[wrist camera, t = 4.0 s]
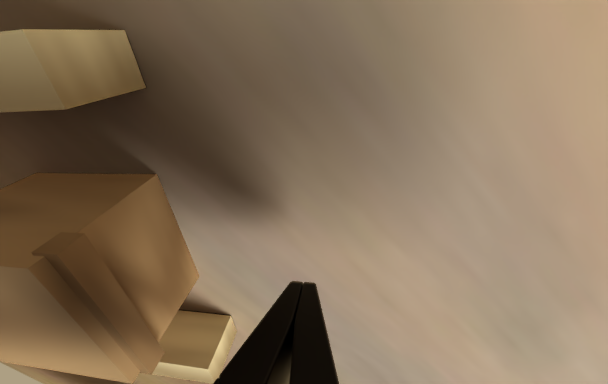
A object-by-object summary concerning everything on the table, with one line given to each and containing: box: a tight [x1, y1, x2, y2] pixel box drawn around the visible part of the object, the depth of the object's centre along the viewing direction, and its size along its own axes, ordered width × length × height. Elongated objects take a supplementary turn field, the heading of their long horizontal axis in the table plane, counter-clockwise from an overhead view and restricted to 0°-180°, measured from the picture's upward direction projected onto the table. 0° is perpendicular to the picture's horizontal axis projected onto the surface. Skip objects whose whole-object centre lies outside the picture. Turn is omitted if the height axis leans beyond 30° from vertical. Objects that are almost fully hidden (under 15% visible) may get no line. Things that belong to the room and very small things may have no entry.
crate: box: [0, 173, 199, 384], centre depth 10 cm, size 6×7×5 cm
